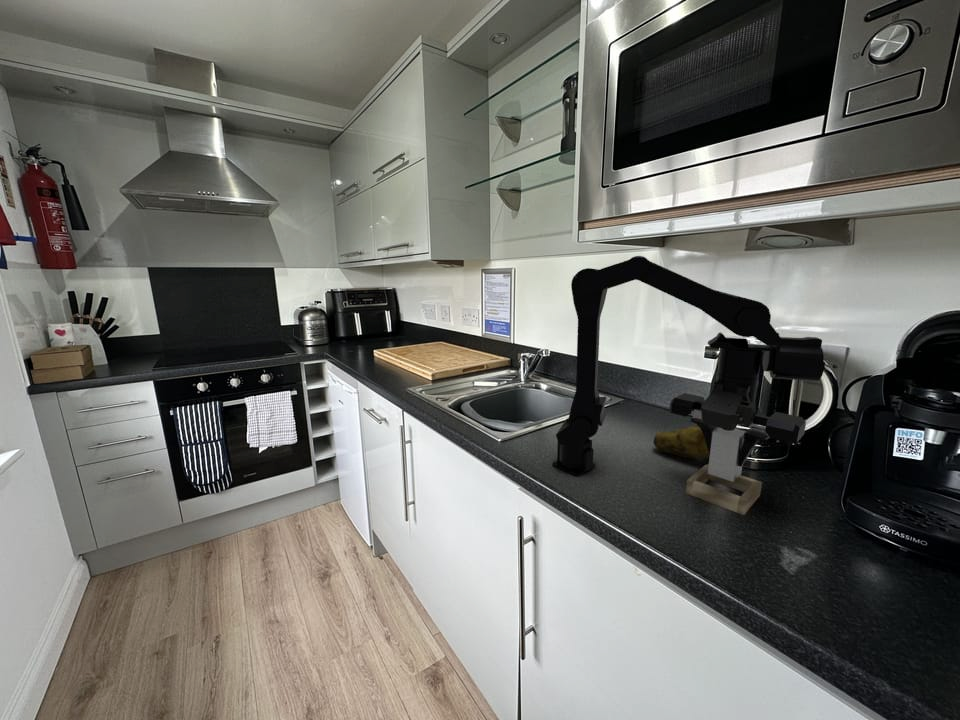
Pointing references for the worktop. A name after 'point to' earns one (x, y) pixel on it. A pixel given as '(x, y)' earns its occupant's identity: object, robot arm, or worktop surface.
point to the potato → (683, 442)
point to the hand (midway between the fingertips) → (725, 461)
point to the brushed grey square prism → (726, 453)
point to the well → (722, 497)
